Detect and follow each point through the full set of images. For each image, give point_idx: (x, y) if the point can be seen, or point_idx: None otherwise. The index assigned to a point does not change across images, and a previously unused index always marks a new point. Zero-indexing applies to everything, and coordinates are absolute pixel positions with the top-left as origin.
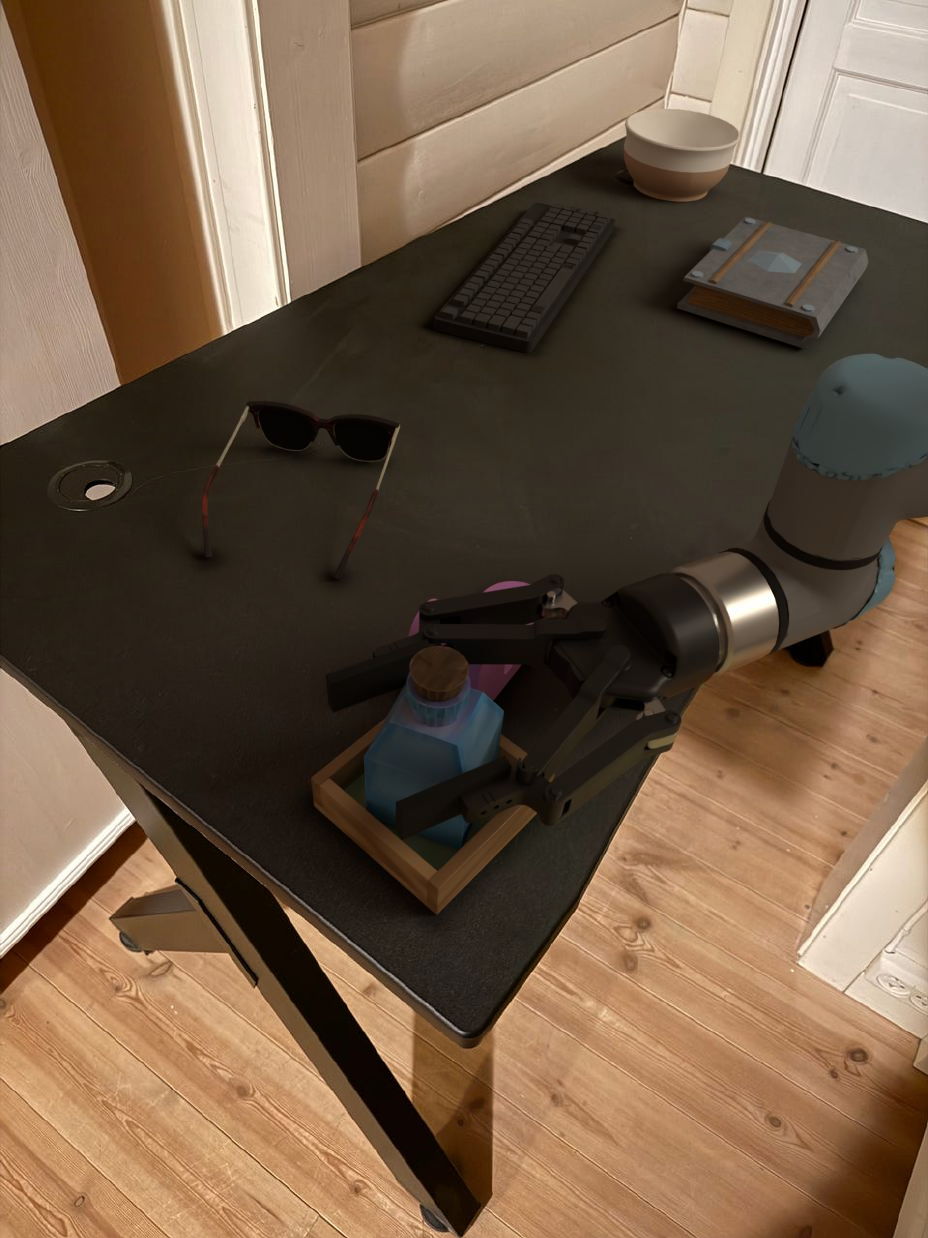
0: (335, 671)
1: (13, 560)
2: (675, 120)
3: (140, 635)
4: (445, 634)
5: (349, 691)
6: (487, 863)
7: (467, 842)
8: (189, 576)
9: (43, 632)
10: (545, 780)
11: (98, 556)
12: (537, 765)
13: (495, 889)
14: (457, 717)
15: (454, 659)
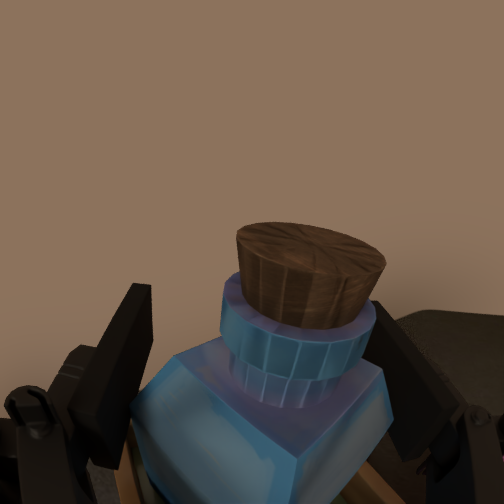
0: (383, 308)
1: (478, 314)
2: None
3: (450, 348)
4: (476, 436)
5: None
6: None
7: (130, 464)
8: (499, 369)
9: (441, 318)
10: (13, 454)
11: (494, 337)
12: (31, 449)
13: (101, 500)
14: (234, 373)
15: (336, 261)
